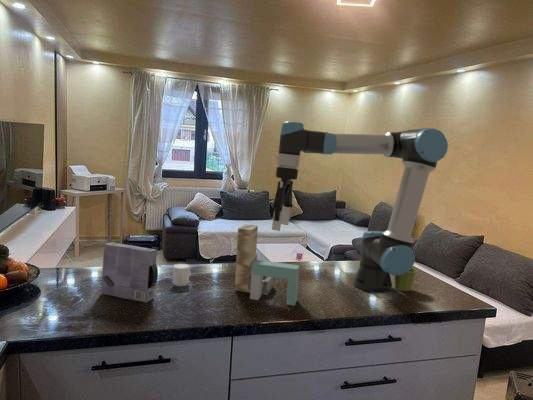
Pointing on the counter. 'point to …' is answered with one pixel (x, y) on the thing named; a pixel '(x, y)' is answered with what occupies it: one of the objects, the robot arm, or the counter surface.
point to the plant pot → (405, 280)
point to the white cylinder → (181, 274)
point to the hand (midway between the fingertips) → (280, 227)
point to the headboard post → (248, 260)
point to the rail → (275, 271)
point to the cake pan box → (129, 272)
